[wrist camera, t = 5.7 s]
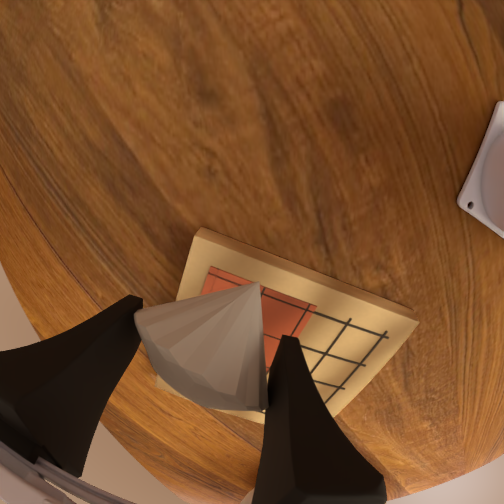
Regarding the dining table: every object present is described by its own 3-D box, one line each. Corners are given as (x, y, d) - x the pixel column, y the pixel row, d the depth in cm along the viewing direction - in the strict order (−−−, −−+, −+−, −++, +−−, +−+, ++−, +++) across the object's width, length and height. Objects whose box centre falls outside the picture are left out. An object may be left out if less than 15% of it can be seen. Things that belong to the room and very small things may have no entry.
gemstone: (355, 328, 9) (263, 458, 8) (297, 323, 15) (239, 403, 14) (193, 207, 9) (92, 342, 8) (197, 249, 15) (136, 330, 14)
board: (413, 309, 20) (420, 323, 18) (313, 424, 27) (313, 436, 25) (201, 225, 19) (193, 235, 17) (159, 375, 26) (153, 387, 25)
